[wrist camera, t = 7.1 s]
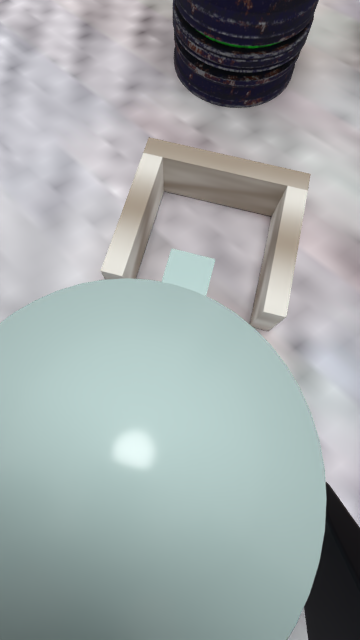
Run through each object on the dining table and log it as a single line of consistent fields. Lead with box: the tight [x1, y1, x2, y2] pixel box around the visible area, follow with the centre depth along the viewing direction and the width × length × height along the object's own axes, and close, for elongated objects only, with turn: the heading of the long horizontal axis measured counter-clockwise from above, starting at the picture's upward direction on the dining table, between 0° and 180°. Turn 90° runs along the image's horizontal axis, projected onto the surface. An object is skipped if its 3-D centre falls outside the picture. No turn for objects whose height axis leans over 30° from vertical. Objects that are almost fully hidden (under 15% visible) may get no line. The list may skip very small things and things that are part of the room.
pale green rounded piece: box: [0, 249, 327, 640], centre depth 11 cm, size 8×6×13 cm
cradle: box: [101, 138, 310, 331], centre depth 19 cm, size 9×10×3 cm
